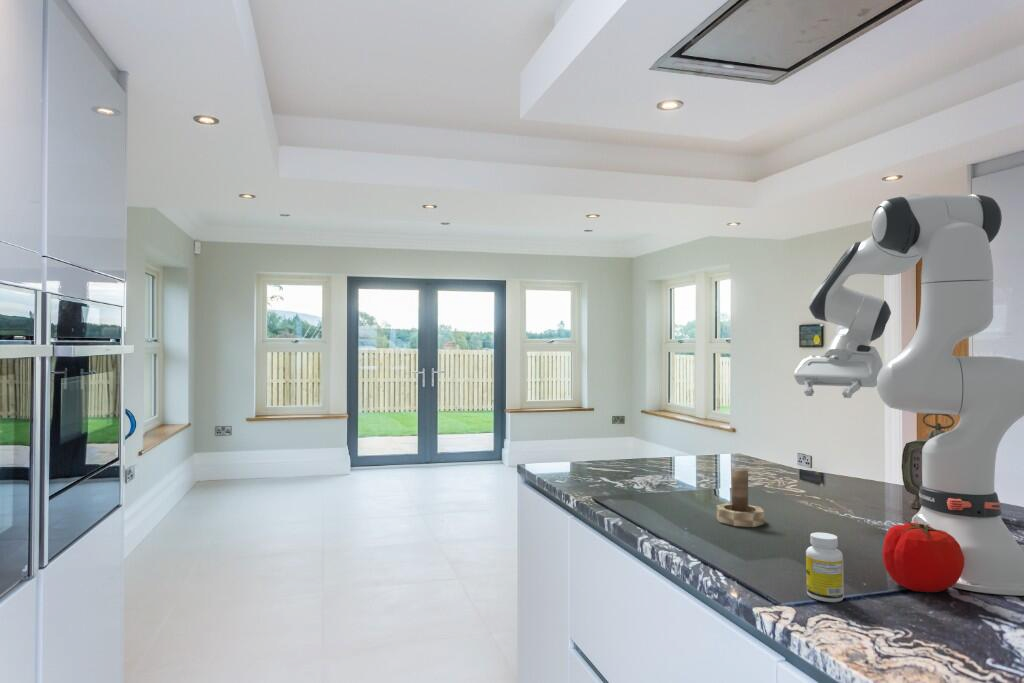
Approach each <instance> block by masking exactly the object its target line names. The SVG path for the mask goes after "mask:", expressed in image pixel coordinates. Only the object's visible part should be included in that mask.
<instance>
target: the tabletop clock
mask: <svg viewBox="0 0 1024 683" xmlns="http://www.w3.org/2000/svg"><path fill="white" fill-rule="evenodd" d="M933 415H934V416H935V415H936V416H939V415H940V416H944V417H947V418H949V419H950V420H951V421H952V422H951V424H949V425H945V426H943V425H942V424H941V423H940V422H936V423H935V425H933V424H929V423H928V422H926V421H925V419H926V418H927V417H929V416H933ZM921 421H922V423H923V424H924V425H925V426H927V427H928V428H931V429H933V430H930V431H929V432H928V433H927V434H926V437H925V438H921V439H917V440H912V441H910V442H906V443H905V446H904V447H903V450H902V455H901V457H902V458H901V474H902V483H903V486H904V488H905V491H906V492H908V493H910V494H912V495H913V496H915V497H914V499H913V500H911V501H909V502H908V506H909V507H910V508H912V507H913V508H916V507H917V503H916V502H917V501H918V500H920V496H919V491H920V486H921V485H922V449H923V446H924V445H925V443H926V442H927V441H928V440H930V439H931V438H933V437H935V436H937V435H940V434H942V433H945V432H947V431H946V429H949V428H952V427H953V426H954V424H955V419H954V417H953V416H951V414H928V413H925V415H923V417H922V420H921Z"/></svg>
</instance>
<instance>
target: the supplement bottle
mask: <svg viewBox="0 0 1024 683" xmlns="http://www.w3.org/2000/svg"><path fill="white" fill-rule="evenodd" d="M809 537H810V538H809V539H810V544H811V546H808V547H807V549H806V550H805V562H806V563H805V566H806V568H805V572H806V573H805V575H806V576H805V577H806V581H805V582H806V593H807V595H808V596H809V598H811V599H814V600H817V601H821V602H825V603H826V602H827V603H839V602H842V601H843V599H844V598H845V587H844V585H845V584H844V580H845V577H844V556H843V553H842V551H841V550H839V549H838V547H839V540H838V536H837V535H836V534H832V533H828V532H812V533H810V536H809Z"/></svg>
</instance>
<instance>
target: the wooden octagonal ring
mask: <svg viewBox="0 0 1024 683" xmlns="http://www.w3.org/2000/svg"><path fill="white" fill-rule="evenodd" d="M716 520H718V523H722V524H725V525H729V526H733V527H745V528H746V527H747V528H754V527H760V526H762V525H763V526H764V525H765V510H764V509H763V508H762V507H760V506H756V505H752V504H748V512H738V511H732V502H726V503H721V504H716Z"/></svg>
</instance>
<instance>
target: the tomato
mask: <svg viewBox="0 0 1024 683" xmlns="http://www.w3.org/2000/svg"><path fill="white" fill-rule="evenodd" d="M902 519H903V520H904V521H906V522H907V523H904V524H898V525H896V524H895V525H893V526H891V527H890V528H889V530H887V533H885V536H884V541H883V546H882V554H881V555H882V564H883V566H884V568H885V570H886V572H887V573H888V574H889V575H888V576H890V578H891V579H892V580H893V581H894V582H895V583H896V584H897V585H900V586H901V587H903V588H905V589H908V590H910V591H913V592H919V593H920V592H922V593H937V592H938V593H939V592H942V591H945V590H947V589H949V588H952V587H951V586H953V585H954V584H956V582H957V581H958V580H959V578H960V576H961V574H962V571H963V568H964V556H963V553H962V550H961V548H960V545H959V543H958V542H957V541H956V540H955V538H954V537H953V536H951V535H950V534H948V533H947V532H944V531H942V530H936V529H934V528H932V527H929V526H928V525H929V524H928V525H924V524H919V523H915V522H914V523H912V522H910V521H908V520H906V518H903V517H902Z"/></svg>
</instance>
